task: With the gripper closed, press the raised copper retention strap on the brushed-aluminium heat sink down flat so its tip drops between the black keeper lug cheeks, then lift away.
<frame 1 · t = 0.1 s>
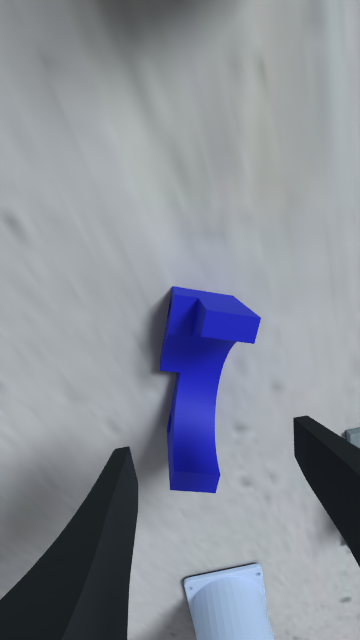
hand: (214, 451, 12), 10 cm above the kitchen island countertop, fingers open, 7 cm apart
blue half clamp bracket: (187, 364, 22), on the kitchen island countertop
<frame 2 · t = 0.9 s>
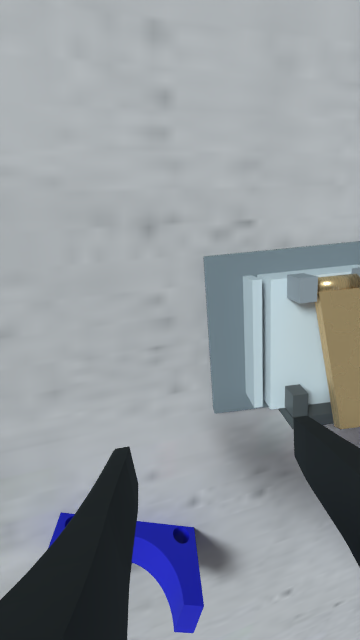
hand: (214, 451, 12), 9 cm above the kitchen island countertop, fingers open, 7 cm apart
retention strap: (345, 348, 16), point 5 cm above the kitchen island countertop, hinge at 22.0°
blue half clamp bracket: (125, 534, 26), on the kitchen island countertop
heat-sink board: (300, 328, 21), on the kitchen island countertop
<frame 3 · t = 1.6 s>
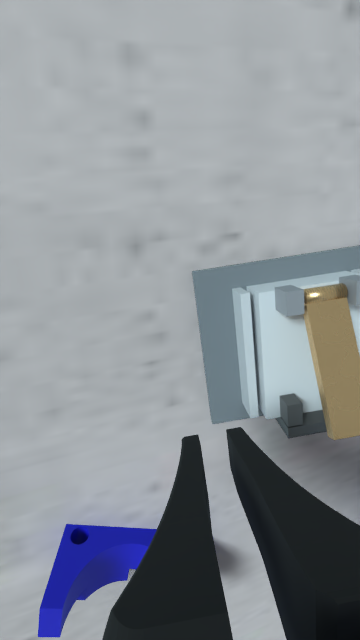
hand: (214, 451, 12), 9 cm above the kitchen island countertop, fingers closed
retention strap: (335, 358, 16), point 5 cm above the kitchen island countertop, hinge at 22.0°
blue half clamp bracket: (131, 542, 26), on the kitchen island countertop
heat-sink board: (293, 336, 21), on the kitchen island countertop
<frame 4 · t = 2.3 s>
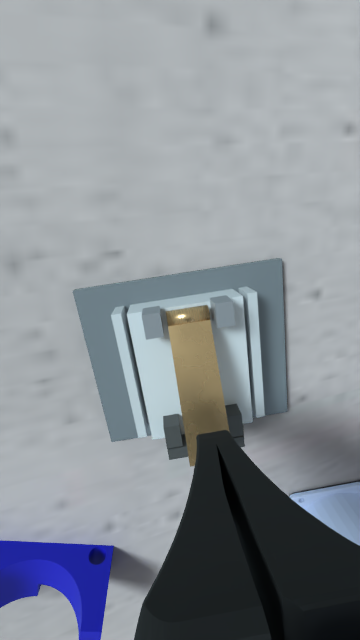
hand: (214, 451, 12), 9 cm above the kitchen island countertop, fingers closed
retention strap: (198, 382, 16), point 5 cm above the kitchen island countertop, hinge at 22.0°
blue half clamp bracket: (45, 556, 26), on the kitchen island countertop
heat-sink board: (189, 353, 21), on the kitchen island countertop
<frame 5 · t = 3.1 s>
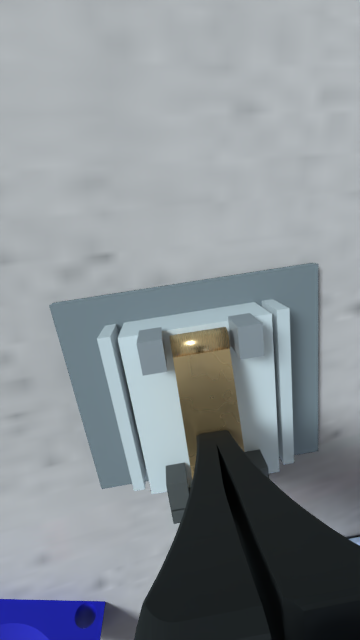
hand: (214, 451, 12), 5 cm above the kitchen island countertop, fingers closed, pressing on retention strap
retention strap: (211, 427, 12), point 5 cm above the kitchen island countertop, hinge at 12.3°, touching gripper
blue half clamp bracket: (24, 613, 22), on the kitchen island countertop
heat-sink board: (198, 381, 17), on the kitchen island countertop
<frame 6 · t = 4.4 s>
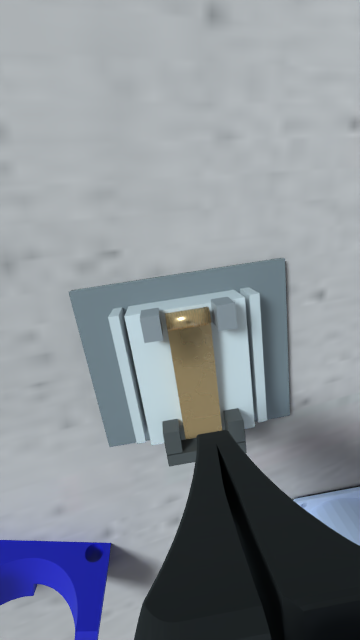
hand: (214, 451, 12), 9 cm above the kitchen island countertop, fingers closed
retention strap: (195, 377, 17), point 4 cm above the kitchen island countertop, hinge at -3.5°
blue half clamp bracket: (41, 555, 25), on the kitchen island countertop
heat-sink board: (189, 356, 20), on the kitchen island countertop
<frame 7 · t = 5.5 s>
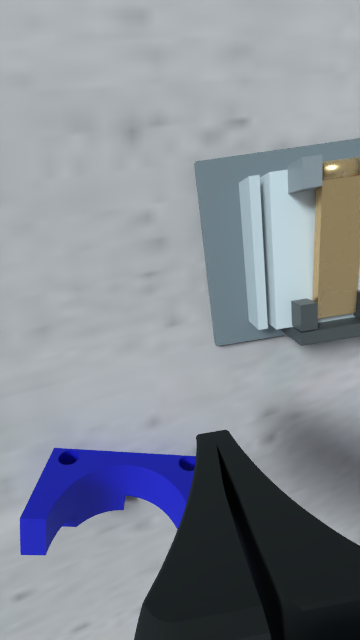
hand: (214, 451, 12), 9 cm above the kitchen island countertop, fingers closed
retention strap: (337, 243, 16), point 4 cm above the kitchen island countertop, hinge at -3.5°
blue half clamp bracket: (128, 471, 24), on the kitchen island countertop
heat-sink board: (305, 246, 19), on the kitchen island countertop
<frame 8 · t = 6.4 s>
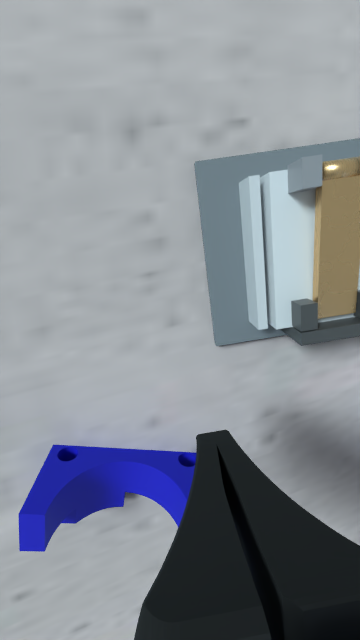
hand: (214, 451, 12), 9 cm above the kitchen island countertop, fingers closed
retention strap: (337, 243, 16), point 4 cm above the kitchen island countertop, hinge at -3.5°
blue half clamp bracket: (127, 467, 24), on the kitchen island countertop
heat-sink board: (305, 246, 19), on the kitchen island countertop
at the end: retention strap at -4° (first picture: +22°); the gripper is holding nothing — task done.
